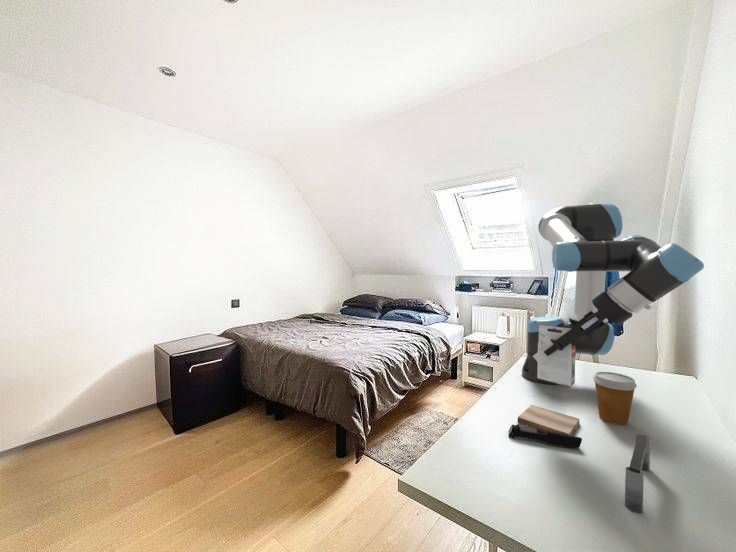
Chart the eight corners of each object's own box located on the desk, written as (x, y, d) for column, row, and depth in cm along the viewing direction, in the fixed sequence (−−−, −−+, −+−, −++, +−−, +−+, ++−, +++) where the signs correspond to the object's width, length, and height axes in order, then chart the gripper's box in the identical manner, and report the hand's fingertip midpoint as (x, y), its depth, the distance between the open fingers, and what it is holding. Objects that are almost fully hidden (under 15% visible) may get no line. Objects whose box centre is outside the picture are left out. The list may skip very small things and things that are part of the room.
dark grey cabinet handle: (635, 462, 67) (635, 430, 67) (650, 467, 65) (650, 434, 65) (623, 507, 54) (624, 468, 54) (642, 515, 53) (643, 475, 52)
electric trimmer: (583, 455, 70) (583, 441, 70) (508, 439, 77) (509, 426, 77) (579, 446, 74) (580, 433, 74) (508, 431, 80) (508, 419, 80)
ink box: (541, 375, 85) (542, 322, 84) (575, 383, 79) (576, 326, 79) (536, 378, 82) (537, 324, 82) (571, 387, 76) (572, 328, 76)
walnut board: (531, 409, 92) (531, 404, 92) (579, 424, 84) (579, 418, 84) (517, 422, 84) (517, 417, 84) (568, 439, 76) (569, 433, 76)
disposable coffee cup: (644, 429, 81) (645, 384, 80) (603, 426, 83) (604, 381, 82) (622, 413, 90) (623, 372, 90) (585, 410, 92) (586, 370, 92)
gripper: (630, 319, 63) (540, 378, 76) (638, 310, 75) (558, 363, 87) (599, 292, 67) (517, 352, 79) (611, 287, 79) (538, 341, 91)
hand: (539, 358), depth 83 cm, fingers closed on ink box, 4 cm apart
